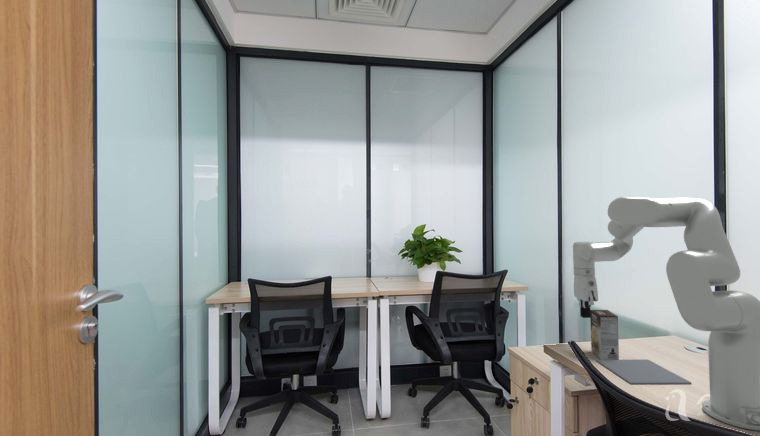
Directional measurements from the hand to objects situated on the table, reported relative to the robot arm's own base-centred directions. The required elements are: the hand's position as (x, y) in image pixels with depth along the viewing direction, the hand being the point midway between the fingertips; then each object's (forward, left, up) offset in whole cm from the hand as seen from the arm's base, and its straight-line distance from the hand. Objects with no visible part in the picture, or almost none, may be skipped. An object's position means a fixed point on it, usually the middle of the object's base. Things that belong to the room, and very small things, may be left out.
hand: (585, 317), depth 141 cm
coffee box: (-12, 0, -11) cm, 17 cm away
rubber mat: (-26, -3, -11) cm, 29 cm away
